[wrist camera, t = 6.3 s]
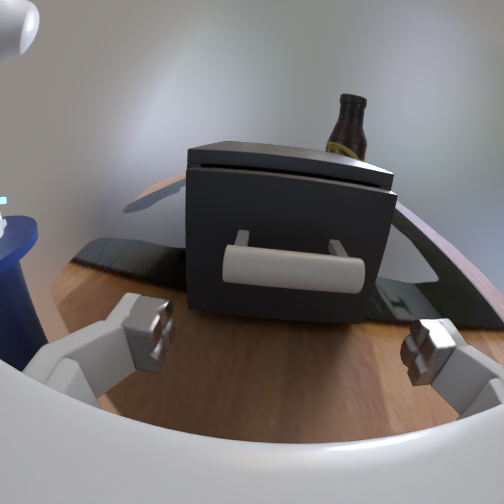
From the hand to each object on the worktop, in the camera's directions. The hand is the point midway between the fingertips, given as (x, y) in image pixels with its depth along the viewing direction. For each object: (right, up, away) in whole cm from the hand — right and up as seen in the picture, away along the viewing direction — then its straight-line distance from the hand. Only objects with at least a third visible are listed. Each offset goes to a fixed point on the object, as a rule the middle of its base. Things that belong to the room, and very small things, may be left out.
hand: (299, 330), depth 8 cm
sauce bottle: (+12, +8, +34) cm, 37 cm away
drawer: (0, 0, +13) cm, 13 cm away
